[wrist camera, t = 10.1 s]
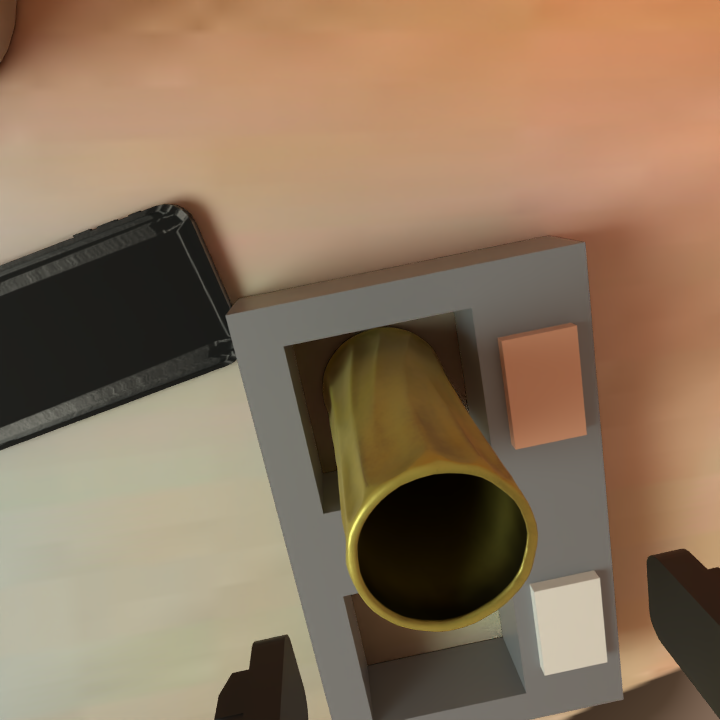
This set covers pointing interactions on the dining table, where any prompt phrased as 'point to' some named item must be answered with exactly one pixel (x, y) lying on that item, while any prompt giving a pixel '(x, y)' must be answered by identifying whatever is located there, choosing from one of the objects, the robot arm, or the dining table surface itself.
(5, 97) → the dining table surface
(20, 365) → the phone
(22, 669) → the dining table surface
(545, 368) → the socket block
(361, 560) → the vase
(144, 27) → the dining table surface
